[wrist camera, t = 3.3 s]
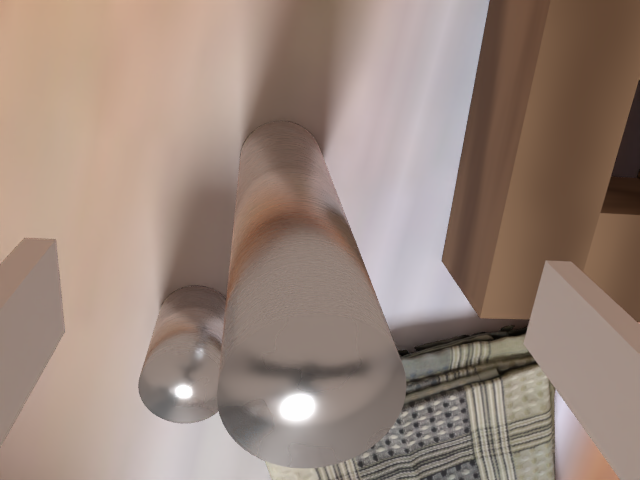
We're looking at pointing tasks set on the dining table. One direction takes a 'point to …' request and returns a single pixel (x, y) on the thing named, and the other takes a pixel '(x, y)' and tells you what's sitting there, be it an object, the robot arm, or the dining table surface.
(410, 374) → the dish towel
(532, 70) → the hole block
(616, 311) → the robot arm
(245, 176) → the long pin
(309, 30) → the dining table surface
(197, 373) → the short pin
